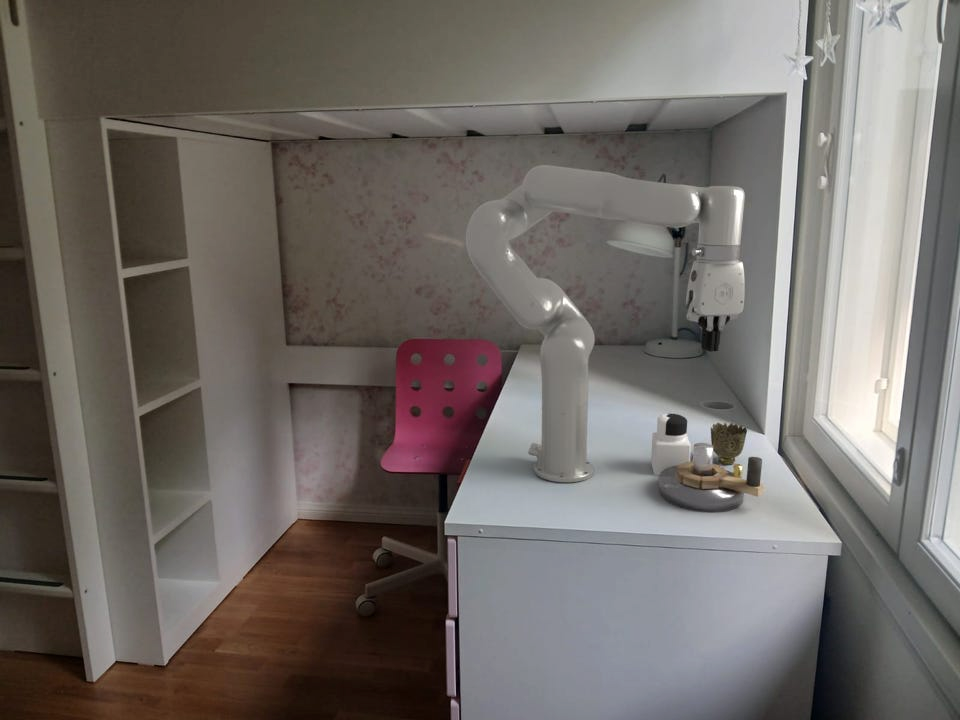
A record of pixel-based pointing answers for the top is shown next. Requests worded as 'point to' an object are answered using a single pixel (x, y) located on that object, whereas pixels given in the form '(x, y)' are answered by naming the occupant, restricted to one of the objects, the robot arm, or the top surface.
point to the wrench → (723, 478)
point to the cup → (727, 441)
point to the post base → (700, 497)
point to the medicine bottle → (670, 443)
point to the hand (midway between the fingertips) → (709, 349)
